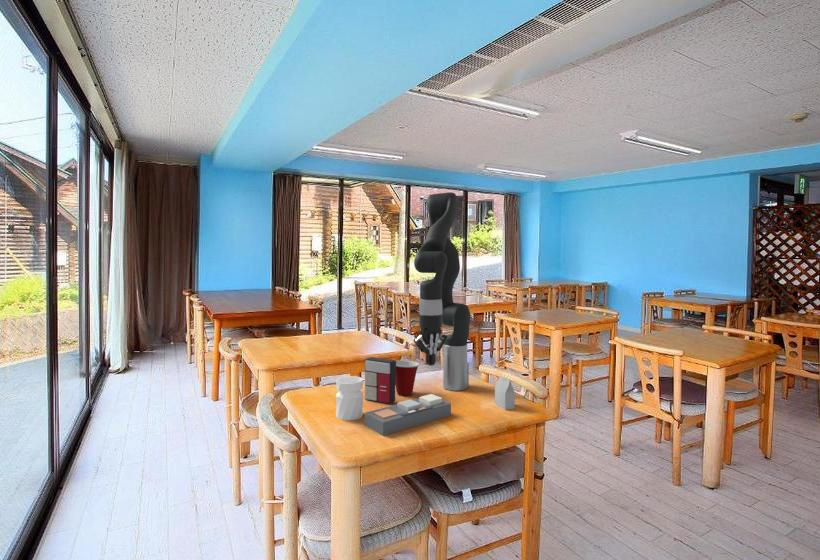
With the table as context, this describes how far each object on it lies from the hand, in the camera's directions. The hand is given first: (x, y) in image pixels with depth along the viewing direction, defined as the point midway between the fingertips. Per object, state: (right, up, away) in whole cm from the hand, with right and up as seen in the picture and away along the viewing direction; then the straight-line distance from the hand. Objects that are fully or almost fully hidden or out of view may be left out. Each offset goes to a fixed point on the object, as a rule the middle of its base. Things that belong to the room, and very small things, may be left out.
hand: (430, 364), depth 154 cm
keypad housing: (-7, -17, -4) cm, 19 cm away
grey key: (-7, -14, -4) cm, 17 cm away
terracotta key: (-14, -16, -10) cm, 24 cm away
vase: (-27, -17, 0) cm, 31 cm away
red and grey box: (-18, -16, +14) cm, 27 cm away
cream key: (0, -14, +1) cm, 14 cm away
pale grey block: (+26, -16, +9) cm, 32 cm away
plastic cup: (-9, -15, +22) cm, 28 cm away
